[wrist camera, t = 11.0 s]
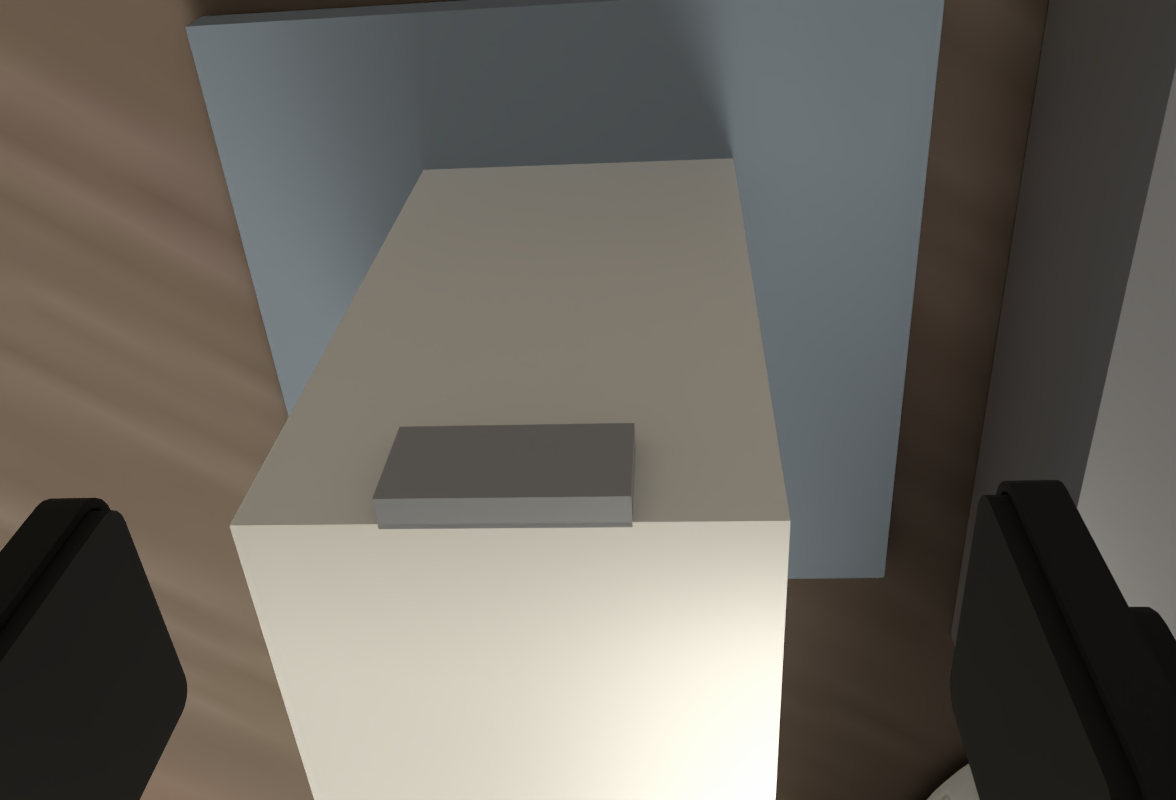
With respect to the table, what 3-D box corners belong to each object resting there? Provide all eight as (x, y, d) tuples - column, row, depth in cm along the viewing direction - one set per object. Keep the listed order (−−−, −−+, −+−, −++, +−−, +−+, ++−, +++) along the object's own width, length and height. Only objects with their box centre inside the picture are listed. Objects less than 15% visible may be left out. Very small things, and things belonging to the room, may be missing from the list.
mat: (936, -29, 14) (946, -20, 13) (877, 555, 19) (884, 577, 19) (201, 16, 15) (185, 26, 14) (341, 562, 20) (332, 584, 20)
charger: (733, 140, 15) (791, 495, 8) (729, 480, 18) (767, 941, 11) (421, 152, 15) (220, 501, 8) (470, 483, 18) (354, 931, 11)
